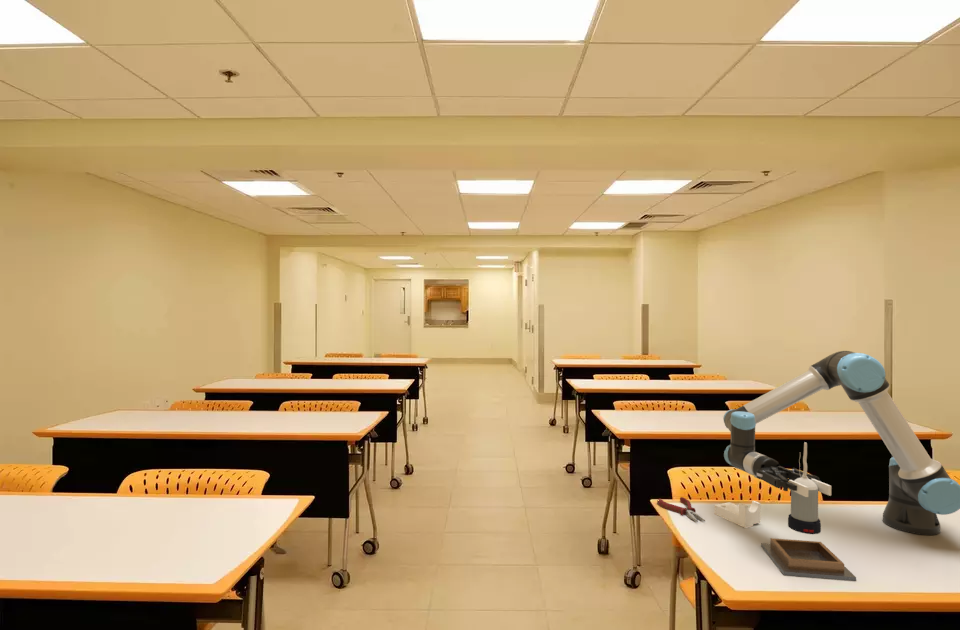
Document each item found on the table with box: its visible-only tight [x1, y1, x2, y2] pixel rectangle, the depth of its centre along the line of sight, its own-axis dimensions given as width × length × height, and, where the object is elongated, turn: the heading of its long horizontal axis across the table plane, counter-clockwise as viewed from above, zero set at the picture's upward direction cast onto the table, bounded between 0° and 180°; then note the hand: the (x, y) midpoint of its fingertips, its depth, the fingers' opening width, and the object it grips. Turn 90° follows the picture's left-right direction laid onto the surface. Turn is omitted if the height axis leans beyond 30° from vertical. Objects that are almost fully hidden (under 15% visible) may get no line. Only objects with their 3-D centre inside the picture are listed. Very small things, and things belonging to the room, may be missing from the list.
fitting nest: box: [760, 537, 857, 582], centre depth 153 cm, size 18×18×4 cm
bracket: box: [714, 500, 762, 529], centre depth 184 cm, size 13×7×8 cm, turn 22°
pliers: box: [656, 496, 706, 523], centre depth 191 cm, size 11×20×3 cm, turn 11°
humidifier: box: [787, 442, 822, 535], centre depth 153 cm, size 8×8×25 cm
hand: (818, 491), depth 148 cm, fingers closed on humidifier, 7 cm apart
